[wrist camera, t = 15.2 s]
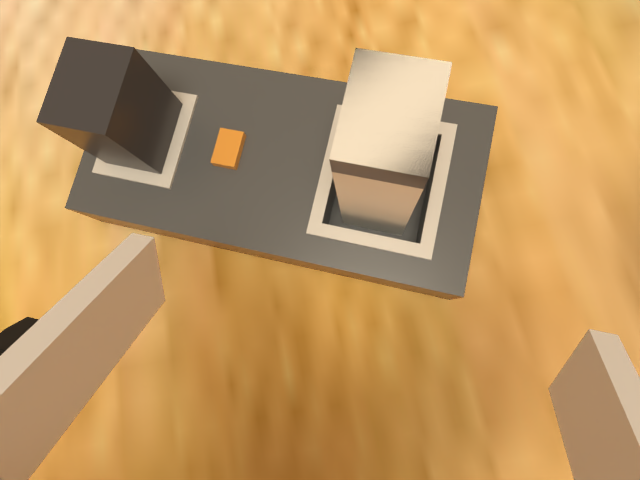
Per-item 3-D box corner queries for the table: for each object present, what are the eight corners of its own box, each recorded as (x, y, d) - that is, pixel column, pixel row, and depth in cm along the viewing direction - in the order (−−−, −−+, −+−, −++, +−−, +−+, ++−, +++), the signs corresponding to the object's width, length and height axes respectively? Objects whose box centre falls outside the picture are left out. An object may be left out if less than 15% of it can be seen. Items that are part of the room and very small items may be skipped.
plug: (343, 223, 28) (328, 159, 17) (358, 155, 29) (355, 47, 17) (401, 235, 28) (429, 177, 16) (415, 166, 29) (452, 62, 17)
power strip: (102, 221, 31) (-21, 177, 21) (148, 78, 33) (55, -24, 23) (449, 299, 28) (498, 291, 18) (479, 134, 30) (539, 41, 20)
